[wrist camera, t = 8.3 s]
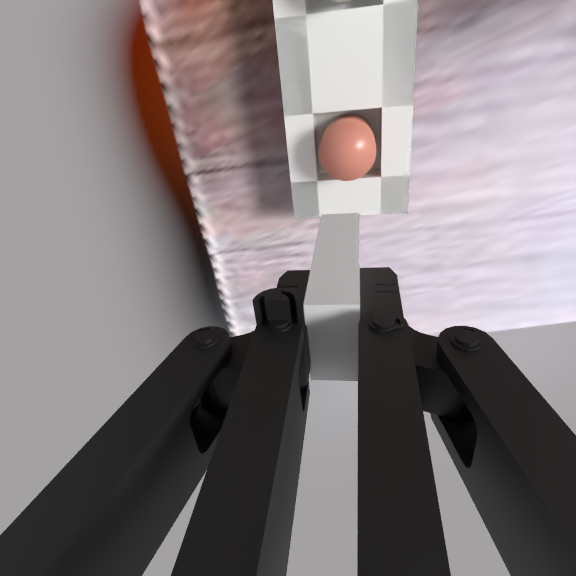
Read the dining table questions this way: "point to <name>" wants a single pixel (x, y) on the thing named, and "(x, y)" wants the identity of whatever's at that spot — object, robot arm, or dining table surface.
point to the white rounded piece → (341, 1)
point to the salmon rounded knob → (347, 147)
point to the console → (347, 97)
